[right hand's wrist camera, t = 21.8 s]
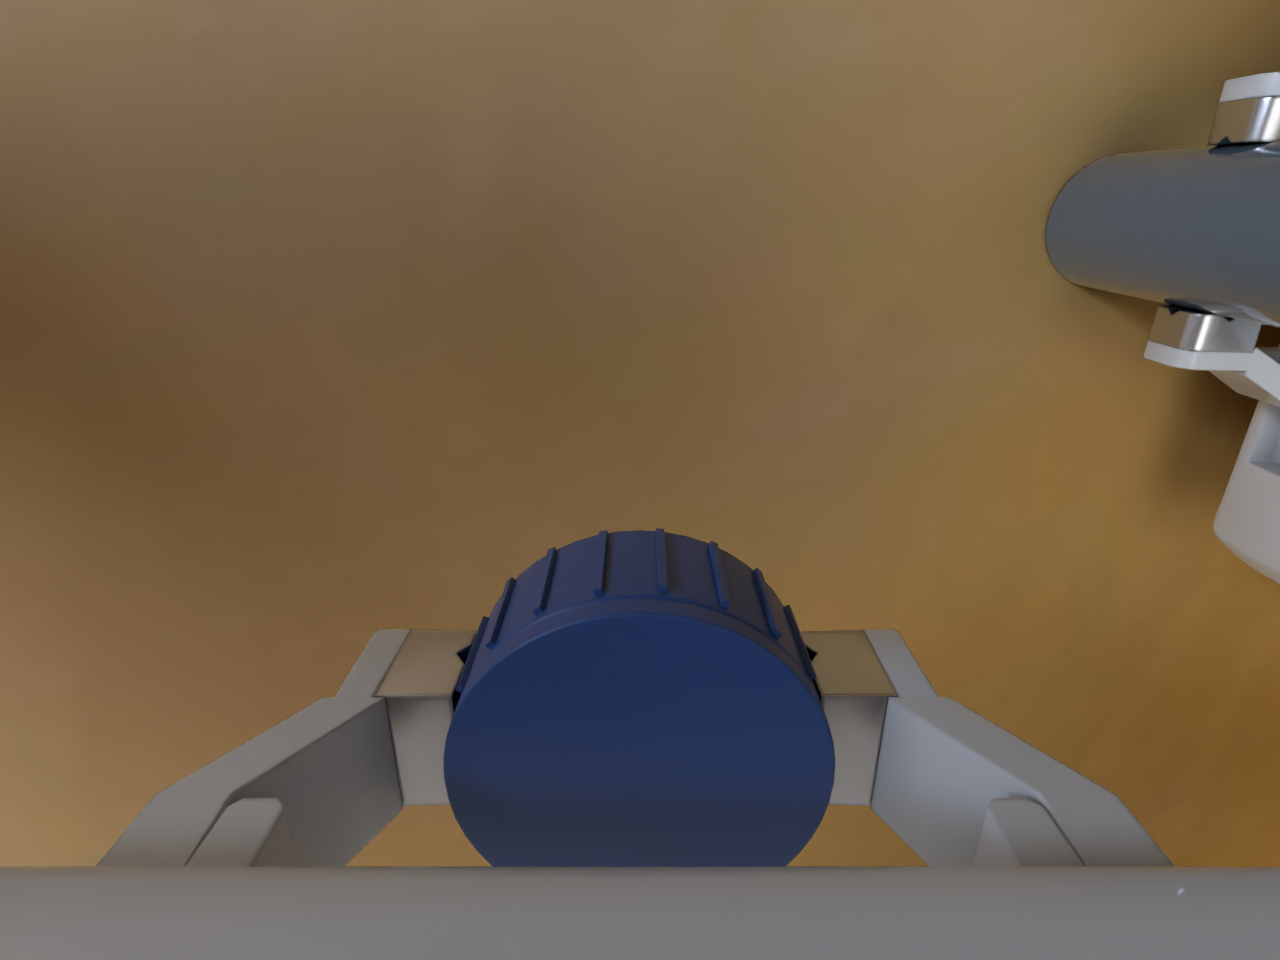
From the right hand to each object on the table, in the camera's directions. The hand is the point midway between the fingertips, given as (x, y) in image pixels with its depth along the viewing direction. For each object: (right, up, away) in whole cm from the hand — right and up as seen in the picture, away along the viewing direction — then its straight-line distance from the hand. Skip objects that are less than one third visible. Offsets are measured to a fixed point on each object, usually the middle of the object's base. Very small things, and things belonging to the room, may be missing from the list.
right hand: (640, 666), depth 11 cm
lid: (0, -1, -2) cm, 2 cm away
